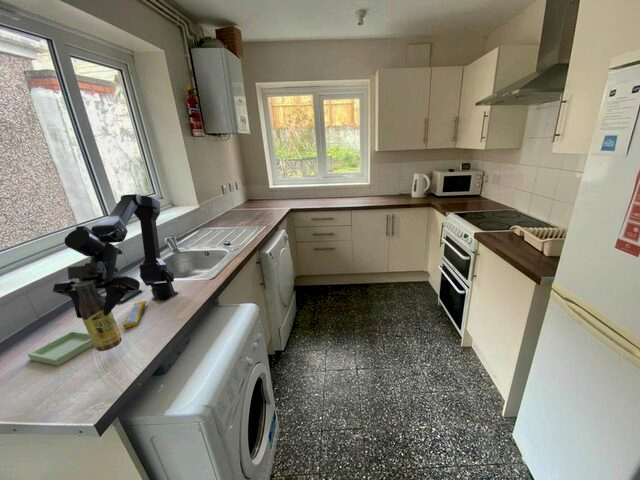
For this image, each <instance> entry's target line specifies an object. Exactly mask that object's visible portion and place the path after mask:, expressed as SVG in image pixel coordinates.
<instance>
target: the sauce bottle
mask: <svg viewBox="0 0 640 480" xmlns="http://www.w3.org/2000/svg"><path fill="white" fill-rule="evenodd" d="M74 288H75V290H76V291H77V292H78V294H79V297H80V300H81V303H80V305H79V312H80V314H81V316H82V318H81V319H82V322H83V325H84V327H85V328H86V329H85V330H86V331H87V333H89V336H90V338H91V340H92V343H93V345H92V346H94V348H95V350H96V351H98V352H105V351H109V350H112V349H114V348H116V347H118V346H119V345H120V344H121V343H122V341H123V338H122V334H121V331H120V328H119V326H118V324H117V321H116V320H115V317H114V314H113V312H112V311H113V310H112V311H111V312H110V313H109V314H108V315H104V306H105V300H104V299H103V298H102V297H101V296H100V295H99V292H98V289H97V290H96V288H95V283H94V281H93V280H86V281H79V282H77V283H76V284H75V285H74Z"/></svg>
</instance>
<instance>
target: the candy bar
mask: <svg viewBox="0 0 640 480" xmlns="http://www.w3.org/2000/svg"><path fill="white" fill-rule="evenodd" d="M147 302H148V301H146V300H143V301H139V302H135V303H133V306H132V308H131V311H130V313H129V315H128V317H127V319H126V320H125V322H124V323H122V328H125V329H128V328H131V327H134V326H135V327H136V326H137V324H138V322H139V320H140V318H141V316H142V314H143V311H144V308H145V307H146V304H147Z"/></svg>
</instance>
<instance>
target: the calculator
mask: <svg viewBox="0 0 640 480" xmlns="http://www.w3.org/2000/svg"><path fill="white" fill-rule="evenodd" d="M141 293H143V291H142V289H139V290H134V291H129V294H126V295H125V296H124V297H123V298H122V299H121V300H120V301H119V302H118V303H117V304H124V303H126V302H127V301H129V300H131V299H132V298H134V297H136V296H137V295H139V294H141ZM98 294H99V295H100V296H101V297H102V298H103V299H104V300H105V301H106V296H107V294H106V291H105V290H103V291H101V292H98Z"/></svg>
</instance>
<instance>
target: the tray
mask: <svg viewBox="0 0 640 480" xmlns="http://www.w3.org/2000/svg"><path fill="white" fill-rule="evenodd" d="M93 346H94V345H93V343H92V340H91V338H90V336H89V333H88V331H87V332H86V331H80V330H70V331H69V332H67V333H65V334H63V335H61V336H59V337H57V338H56V339H54V340H51V341H50V342H48V343H46V344H44V345H42V346H40V347H38V348H36V349H34V350H33V351H31V352H29V353H27V356H28V358H29V359H30V360H31V361H35V362H39V363H43V364H47V365H53V366H58V367H60V366H61V365H62V364H64V363H66V362H68V361H70V360H71V359H72V358H74V357H76V356H78V355H79V354H81V353H82V352H84V351H86V350H88V349H90V348H91V347H93Z"/></svg>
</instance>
